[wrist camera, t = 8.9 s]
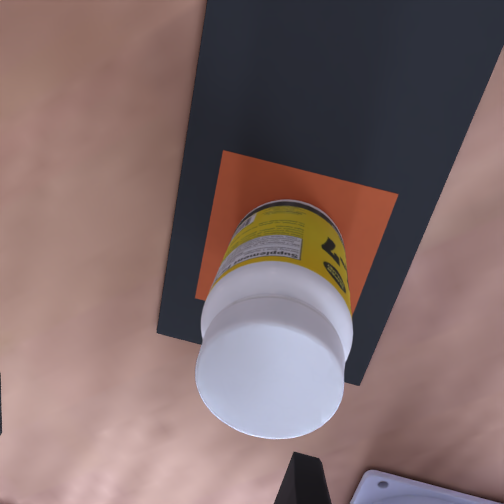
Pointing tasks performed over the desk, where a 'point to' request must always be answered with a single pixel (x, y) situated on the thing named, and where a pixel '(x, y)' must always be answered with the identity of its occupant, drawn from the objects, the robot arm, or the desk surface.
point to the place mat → (326, 136)
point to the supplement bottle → (277, 324)
